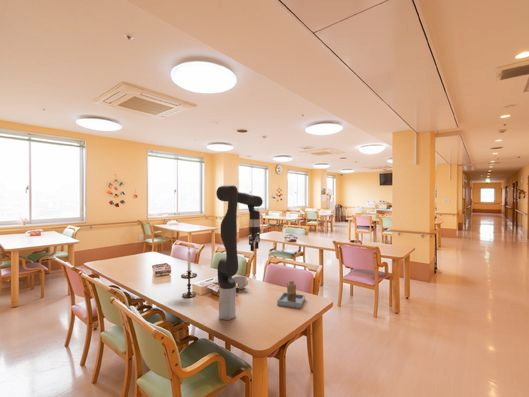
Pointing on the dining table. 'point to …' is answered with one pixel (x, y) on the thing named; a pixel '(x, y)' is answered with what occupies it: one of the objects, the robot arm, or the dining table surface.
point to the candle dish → (285, 302)
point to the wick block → (291, 291)
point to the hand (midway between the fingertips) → (254, 249)
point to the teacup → (241, 281)
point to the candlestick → (189, 276)
